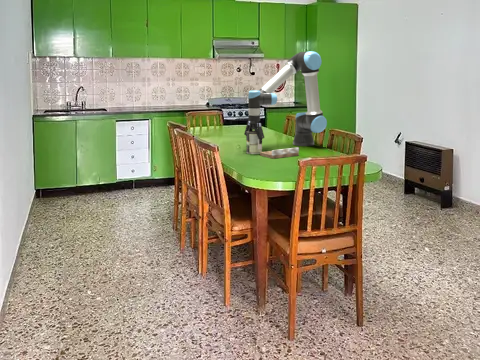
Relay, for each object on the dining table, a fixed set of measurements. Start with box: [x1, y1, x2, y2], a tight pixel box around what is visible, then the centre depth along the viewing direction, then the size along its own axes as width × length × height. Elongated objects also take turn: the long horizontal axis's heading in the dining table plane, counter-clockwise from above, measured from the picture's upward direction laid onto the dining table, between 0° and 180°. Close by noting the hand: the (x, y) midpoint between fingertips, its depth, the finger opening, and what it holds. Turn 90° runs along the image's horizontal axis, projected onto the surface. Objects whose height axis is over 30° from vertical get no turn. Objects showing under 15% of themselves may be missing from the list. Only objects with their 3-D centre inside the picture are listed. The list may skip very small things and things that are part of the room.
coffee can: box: [245, 130, 263, 155], centre depth 327 cm, size 10×10×14 cm
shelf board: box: [259, 146, 300, 159], centre depth 318 cm, size 20×14×5 cm
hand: (254, 147), depth 328 cm, fingers open, 13 cm apart
